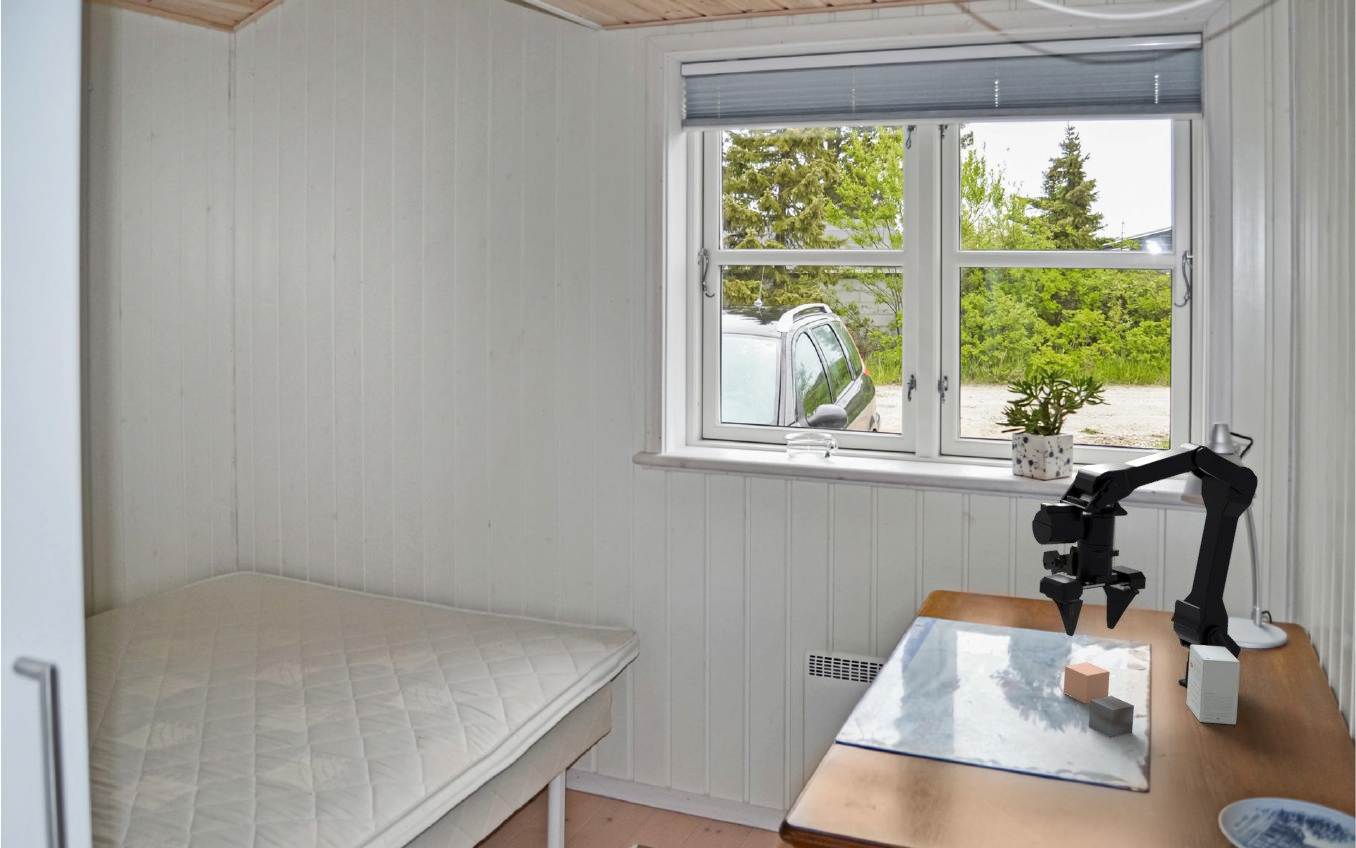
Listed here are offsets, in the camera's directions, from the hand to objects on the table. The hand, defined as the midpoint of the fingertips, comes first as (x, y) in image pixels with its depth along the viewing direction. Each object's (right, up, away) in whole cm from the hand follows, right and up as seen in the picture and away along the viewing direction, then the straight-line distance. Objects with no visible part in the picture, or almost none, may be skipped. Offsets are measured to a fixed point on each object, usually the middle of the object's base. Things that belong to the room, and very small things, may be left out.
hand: (1090, 632), depth 180 cm
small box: (+17, -13, -6) cm, 22 cm away
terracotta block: (0, -11, +2) cm, 12 cm away
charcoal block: (-2, -13, -12) cm, 18 cm away
